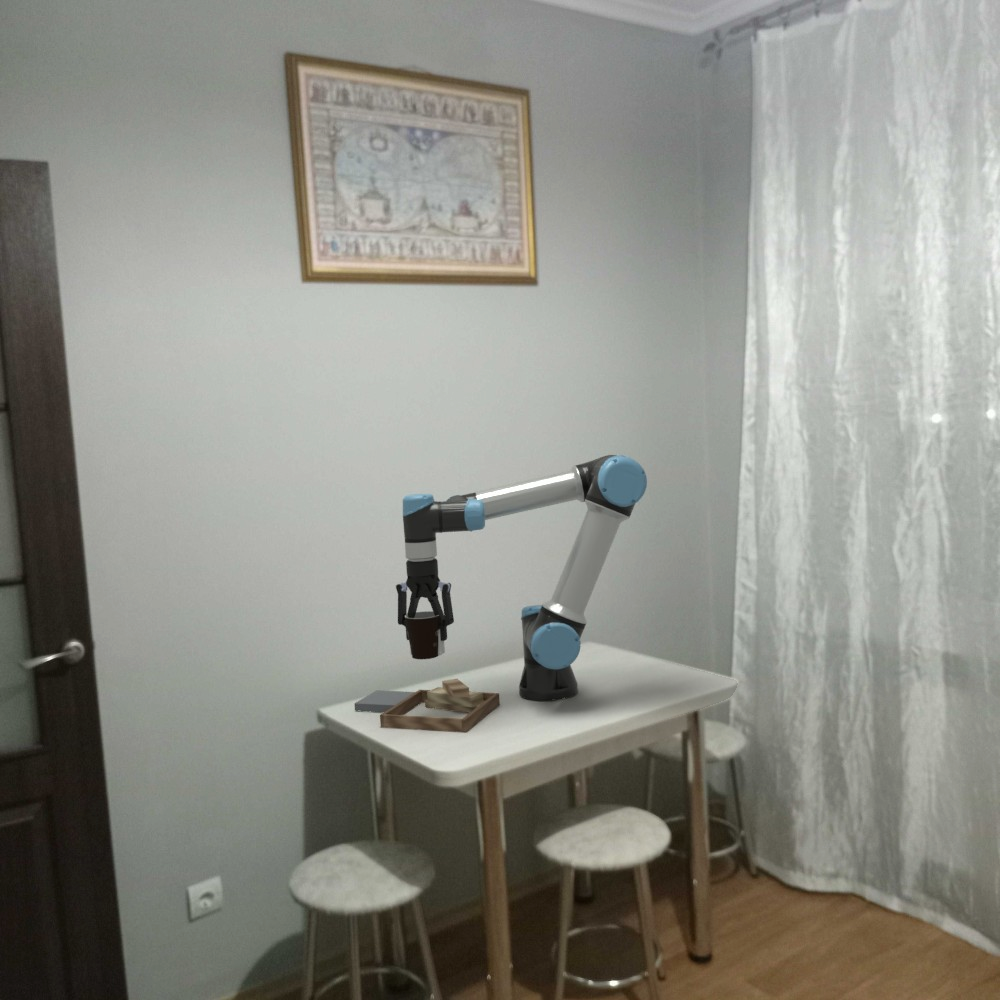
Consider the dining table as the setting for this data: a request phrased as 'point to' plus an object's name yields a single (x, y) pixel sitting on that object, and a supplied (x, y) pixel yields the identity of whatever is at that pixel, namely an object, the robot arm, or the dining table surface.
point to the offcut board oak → (449, 706)
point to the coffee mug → (423, 634)
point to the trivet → (381, 700)
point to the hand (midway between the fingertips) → (427, 653)
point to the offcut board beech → (455, 688)
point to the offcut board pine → (444, 697)
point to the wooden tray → (399, 720)
